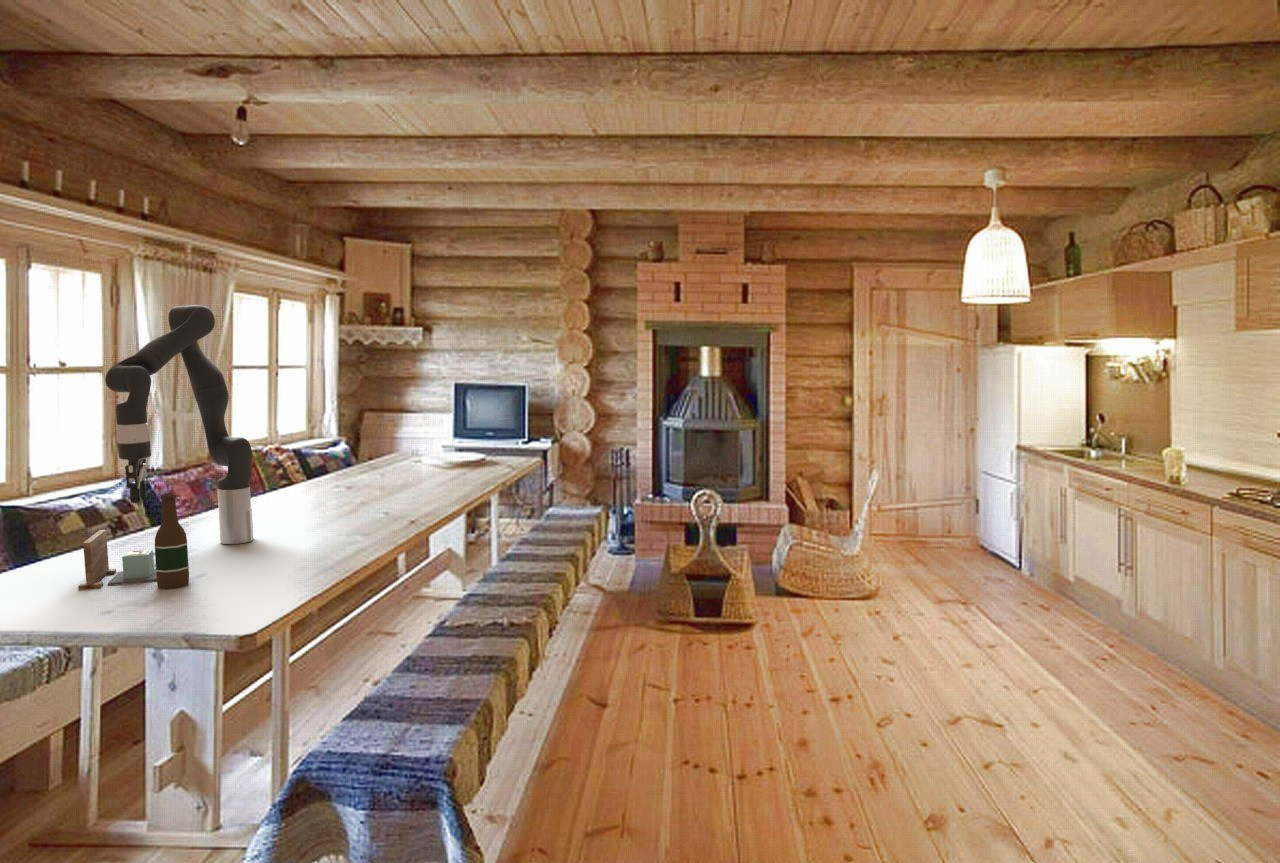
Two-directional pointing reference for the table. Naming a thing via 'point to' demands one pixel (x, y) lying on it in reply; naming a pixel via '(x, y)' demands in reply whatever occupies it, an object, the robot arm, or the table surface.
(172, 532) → the beer bottle
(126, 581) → the mat
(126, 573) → the letter cube
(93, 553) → the wooden footed board
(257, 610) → the table surface
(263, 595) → the table surface
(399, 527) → the table surface
